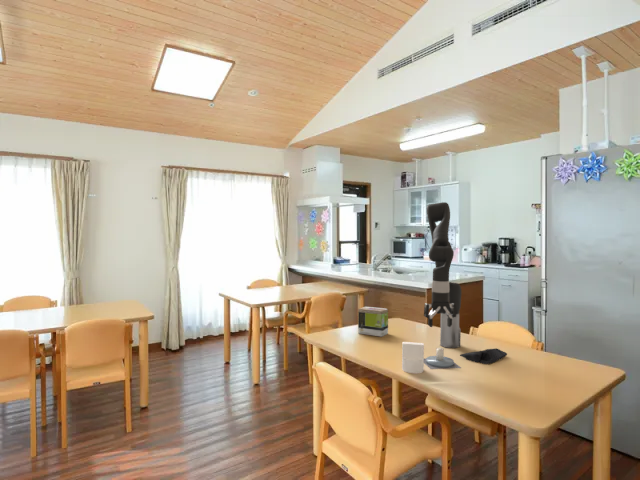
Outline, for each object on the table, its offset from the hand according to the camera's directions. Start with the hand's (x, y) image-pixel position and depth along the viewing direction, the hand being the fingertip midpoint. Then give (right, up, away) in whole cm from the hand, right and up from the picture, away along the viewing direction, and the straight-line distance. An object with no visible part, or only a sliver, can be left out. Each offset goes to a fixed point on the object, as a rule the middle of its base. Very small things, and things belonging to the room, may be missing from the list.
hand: (439, 326), depth 183 cm
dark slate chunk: (+24, -18, +10) cm, 32 cm away
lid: (0, -17, 0) cm, 17 cm away
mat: (0, -17, 0) cm, 17 cm away
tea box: (-23, -16, +54) cm, 61 cm away
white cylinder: (-14, -18, -8) cm, 24 cm away
